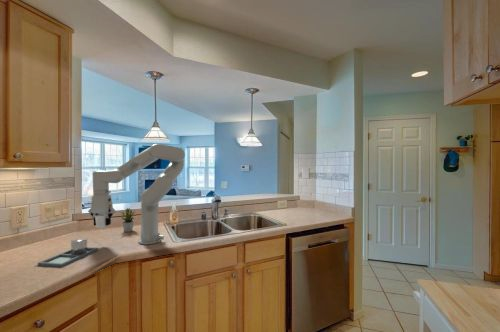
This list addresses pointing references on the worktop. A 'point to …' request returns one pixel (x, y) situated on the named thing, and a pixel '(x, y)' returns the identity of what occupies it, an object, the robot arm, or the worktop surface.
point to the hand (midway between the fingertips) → (102, 224)
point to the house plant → (127, 220)
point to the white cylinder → (101, 220)
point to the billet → (79, 246)
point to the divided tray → (65, 259)
